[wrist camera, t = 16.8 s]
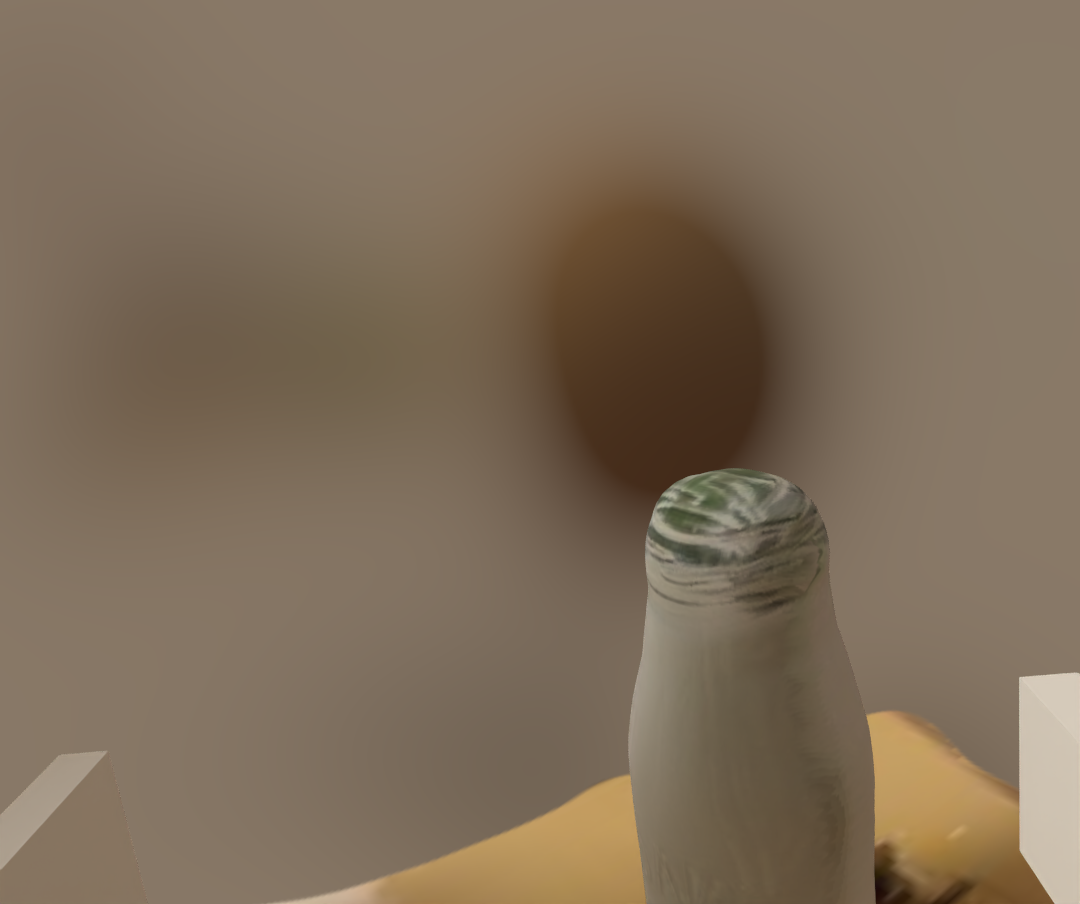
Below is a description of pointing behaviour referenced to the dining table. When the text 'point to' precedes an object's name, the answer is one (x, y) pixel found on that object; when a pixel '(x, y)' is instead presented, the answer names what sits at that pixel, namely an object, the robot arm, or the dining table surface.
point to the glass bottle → (747, 705)
